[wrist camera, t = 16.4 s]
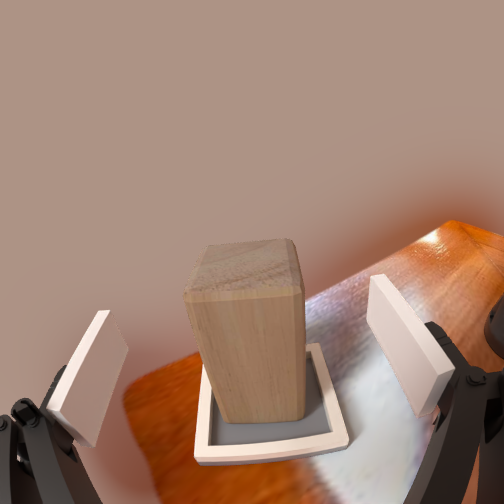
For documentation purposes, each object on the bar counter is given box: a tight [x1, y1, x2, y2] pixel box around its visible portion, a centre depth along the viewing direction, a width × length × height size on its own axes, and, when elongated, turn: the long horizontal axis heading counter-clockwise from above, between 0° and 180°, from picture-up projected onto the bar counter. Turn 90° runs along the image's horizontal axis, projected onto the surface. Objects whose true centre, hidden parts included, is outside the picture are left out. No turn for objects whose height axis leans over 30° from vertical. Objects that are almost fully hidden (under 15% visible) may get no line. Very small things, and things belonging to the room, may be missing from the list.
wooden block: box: [183, 239, 306, 424], centre depth 31 cm, size 10×10×20 cm
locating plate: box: [194, 342, 349, 466], centre depth 34 cm, size 17×17×3 cm
